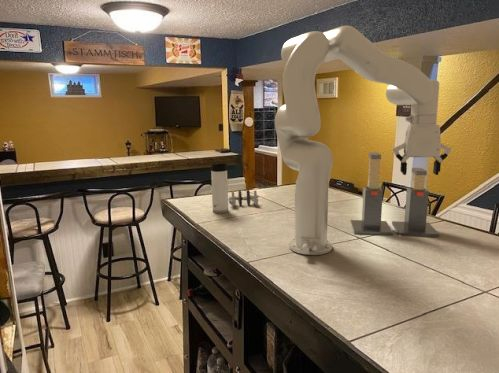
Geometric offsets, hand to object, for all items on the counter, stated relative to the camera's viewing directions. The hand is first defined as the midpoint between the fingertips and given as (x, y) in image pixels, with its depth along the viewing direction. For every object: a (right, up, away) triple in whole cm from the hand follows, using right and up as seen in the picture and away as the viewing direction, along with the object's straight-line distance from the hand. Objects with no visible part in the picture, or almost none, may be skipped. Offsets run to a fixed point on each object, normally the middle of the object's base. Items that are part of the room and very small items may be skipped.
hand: (419, 174), depth 123 cm
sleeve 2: (0, -19, +4) cm, 19 cm away
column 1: (-14, -12, +5) cm, 19 cm away
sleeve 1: (-14, -18, +6) cm, 24 cm away
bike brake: (-58, -11, +44) cm, 74 cm away
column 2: (0, -17, +4) cm, 18 cm away
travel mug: (-67, -14, +30) cm, 74 cm away
